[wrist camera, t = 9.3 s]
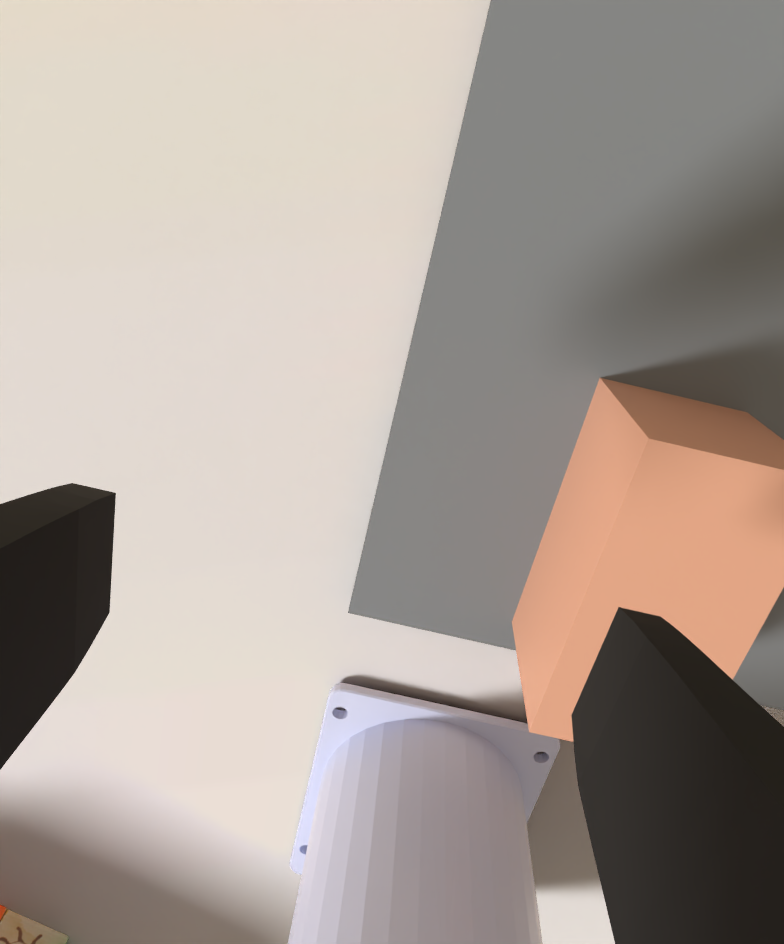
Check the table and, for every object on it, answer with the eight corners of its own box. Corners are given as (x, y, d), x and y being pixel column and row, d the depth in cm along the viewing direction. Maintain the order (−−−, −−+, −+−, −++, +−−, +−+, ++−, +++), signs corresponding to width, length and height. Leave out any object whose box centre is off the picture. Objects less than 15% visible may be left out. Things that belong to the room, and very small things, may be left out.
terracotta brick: (636, 650, 21) (684, 766, 17) (511, 622, 21) (529, 732, 16) (747, 412, 17) (840, 483, 13) (599, 377, 17) (648, 438, 13)
